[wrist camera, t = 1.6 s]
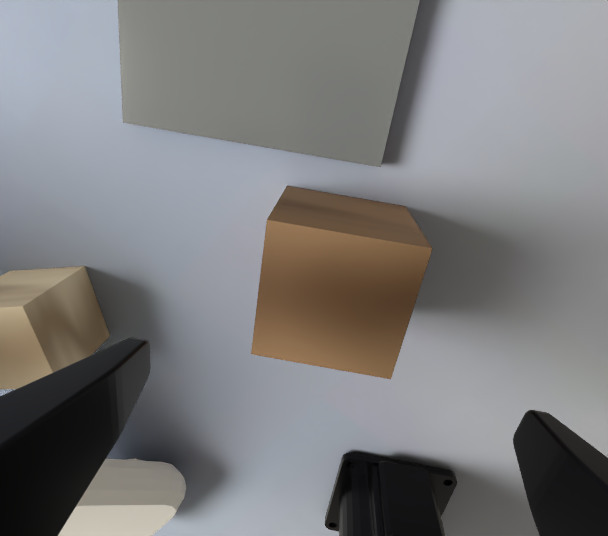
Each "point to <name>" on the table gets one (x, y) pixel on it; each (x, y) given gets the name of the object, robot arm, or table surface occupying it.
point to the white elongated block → (127, 499)
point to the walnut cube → (338, 281)
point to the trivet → (268, 71)
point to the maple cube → (46, 323)
